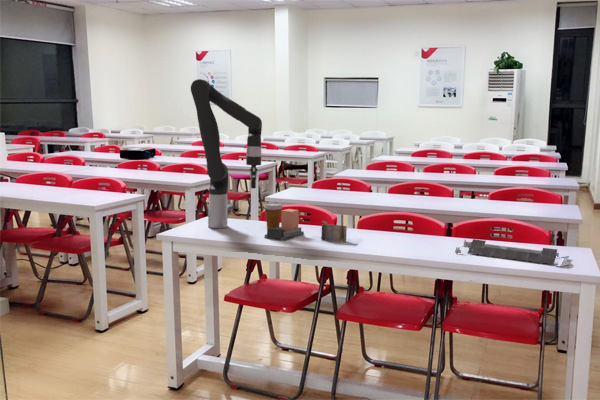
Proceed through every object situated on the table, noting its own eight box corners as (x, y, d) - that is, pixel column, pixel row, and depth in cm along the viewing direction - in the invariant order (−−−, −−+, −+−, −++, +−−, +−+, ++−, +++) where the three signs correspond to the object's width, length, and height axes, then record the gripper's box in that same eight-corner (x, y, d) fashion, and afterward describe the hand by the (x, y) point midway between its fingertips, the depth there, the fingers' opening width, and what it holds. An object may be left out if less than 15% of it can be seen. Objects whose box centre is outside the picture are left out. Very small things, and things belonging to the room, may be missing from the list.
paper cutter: (465, 246, 263) (466, 234, 262) (573, 260, 240) (574, 247, 239) (453, 254, 248) (454, 241, 247) (567, 269, 225) (568, 256, 224)
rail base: (285, 231, 288) (285, 222, 287) (303, 234, 282) (303, 224, 281) (264, 237, 274) (264, 227, 273) (283, 240, 268) (283, 230, 267)
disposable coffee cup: (261, 228, 296) (261, 205, 295) (267, 224, 305) (267, 202, 304) (278, 229, 294) (279, 206, 292) (284, 226, 303) (285, 203, 301)
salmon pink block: (288, 228, 285) (288, 208, 284) (298, 230, 282) (298, 210, 281) (281, 230, 280) (281, 210, 279) (291, 232, 277) (291, 211, 276)
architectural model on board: (321, 241, 270) (321, 220, 268) (323, 239, 273) (323, 219, 271) (344, 243, 266) (344, 222, 264) (346, 242, 269) (346, 221, 267)
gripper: (246, 155, 298) (245, 186, 299) (246, 155, 284) (245, 188, 285) (260, 155, 299) (260, 187, 300) (261, 156, 285) (261, 188, 286)
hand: (253, 187), depth 293 cm, fingers open, 8 cm apart
